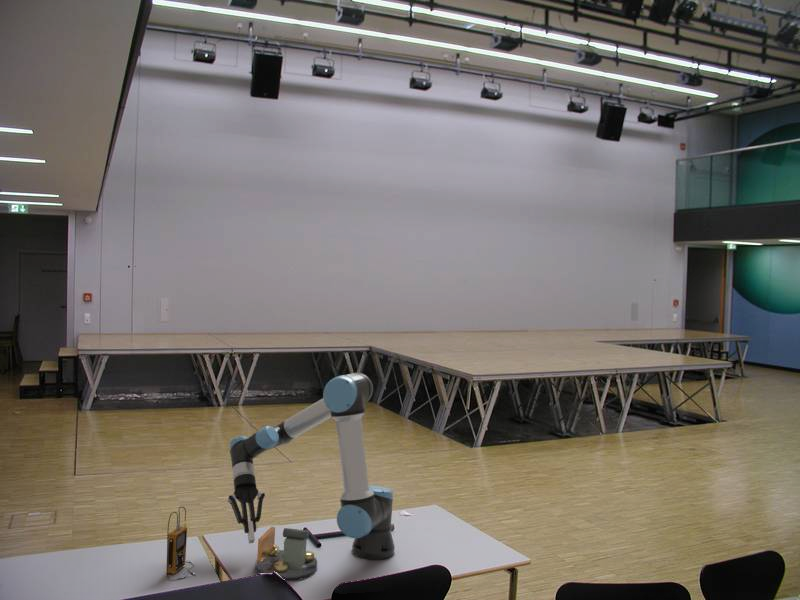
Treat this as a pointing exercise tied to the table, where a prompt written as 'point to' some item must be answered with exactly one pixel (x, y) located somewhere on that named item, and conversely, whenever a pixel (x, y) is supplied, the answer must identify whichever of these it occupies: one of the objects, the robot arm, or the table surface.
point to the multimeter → (176, 547)
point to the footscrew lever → (267, 545)
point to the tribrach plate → (291, 572)
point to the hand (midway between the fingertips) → (251, 541)
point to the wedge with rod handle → (295, 547)
